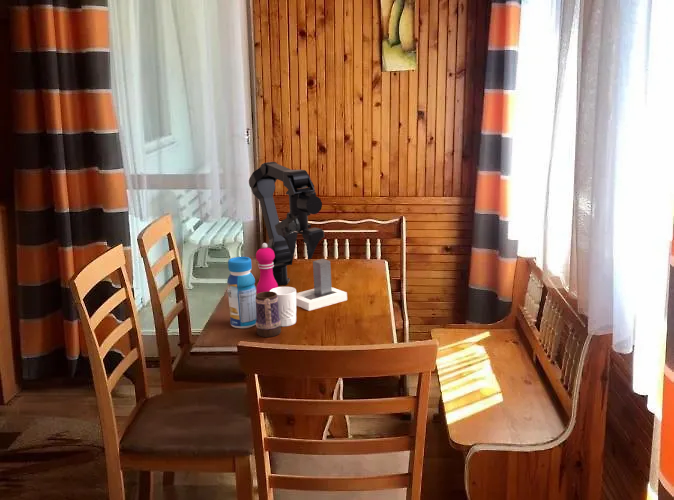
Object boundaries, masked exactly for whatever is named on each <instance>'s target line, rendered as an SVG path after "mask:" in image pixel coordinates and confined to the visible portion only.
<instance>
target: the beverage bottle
mask: <svg viewBox="0 0 674 500" xmlns="http://www.w3.org/2000/svg"><path fill="white" fill-rule="evenodd" d="M227 266H228V267H227V268H228V272H229V273H230V274H229V275H228V277H227V280H226V285H227V286H228V287H227V291H226V293H227V296H228V308H229V321H230V322H229V324H230V326H231V327H233V328H235V329H249V328H252V327H255V326H256V299H255V298H256V294H257V293H256V288H257V286H256V285H255V283H256V279H255V276H254V275H253V273H252V272H251V271H252V267H253V266H252V259H251V258H250V257H249V256H235V257H231V258H229V259H228V260H227Z"/></svg>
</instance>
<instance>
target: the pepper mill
mask: <svg viewBox="0 0 674 500" xmlns="http://www.w3.org/2000/svg"><path fill="white" fill-rule="evenodd" d="M267 246H268V243H266V242H263V243H262V244H261V248H259V249H257V251H256V253H255V259H256V261H257V262H258V263H257V265H258V266H257V267H258V269H259V274H260V275H259V279H258V282H257V285H256V294H258V293H260V292H267V291H270V290H271V289H273V288H277V287H279V285H278V284H277V282H276V280H275V278H274V276H273V267H274V265H273V264H274V262H273V260H274V258H275V254H274V251H273V250H272V249H271V248H267Z"/></svg>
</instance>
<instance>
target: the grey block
mask: <svg viewBox="0 0 674 500" xmlns="http://www.w3.org/2000/svg"><path fill="white" fill-rule="evenodd" d="M331 263H332V262H331V260H328V259H325V258H321V259H316V260H313V261H312V269H313V271H312V272H313V273H312V274H313V289H314V294H313V295H309V296H305V297H304V298H307V299H309V300H312V299H315V298H319V297H323V296H326V295H330V294H332V267H331Z"/></svg>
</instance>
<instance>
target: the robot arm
mask: <svg viewBox="0 0 674 500" xmlns="http://www.w3.org/2000/svg"><path fill="white" fill-rule="evenodd" d="M277 180H279V181H280V182H282V183H283V186H284V187H285V188H286V189H287V190H286V192H285V194H286V195H288V204H289V206H288V207H289V212H287V213H286V218H285V219H283V220H281V221H280V220H279V216H278V211H277V207H276V205H275V204H276V203H275V199H274V194H275V191H276V184H275V183H276V182H277ZM248 185H249V187H250V189H251V190H250V191H251V193H252V195H254V196H255V197H256V199H257V200H258V201H259V205H260V208H261V213H262V216H263V221H264V224H265V228H266V232H267V237H268V243H267V248H271V249H272V250H273V251H274V254H275V258H274V260H273V262H274V264H273V265H274V267H273V276H274V278H275V280H276V282H277V284H278V286H286V285H289V282H290V280H291V279H290V277H288V268H287V267H288V266H292V265H293V259H294V255H295V251H296V245H297V238H298V235H302V236H301V237H302V238H303V239H302V242H304V243H305V247H306V255H307V256H306V257H307V260H310V259H312V258H313V255H314V253H315V251H316V248H317V246H318V245H319V242H320V241H321V240H322V239H323V238H325V231H324V230H323V229H322V228H318V227H312V224H311V223H309V216H311V215H317V214H319V213H320V212H321V210H322V208H323V201H322V200H321V198H320V197H319V196H317V192H316V190H315V185H314V183H313V181H312V179H311V176H310V174H309V173H308V171H306V170H305V169H290V168H289V167H286V166H284V165H281V164H278V162H276V161H268V162H263V163H262V164H261V165H260V166H259V167H258V168H257V169H256V170H254V171H253V172H252V174H251V175H250V177H249V178H248Z"/></svg>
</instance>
